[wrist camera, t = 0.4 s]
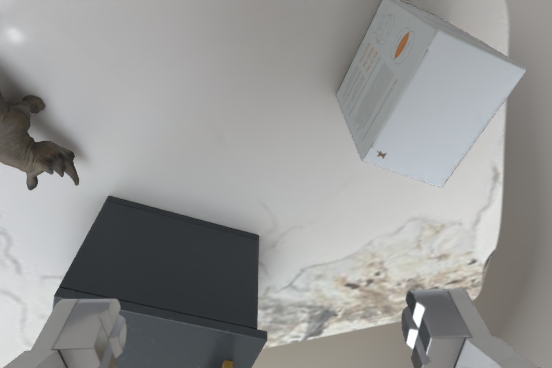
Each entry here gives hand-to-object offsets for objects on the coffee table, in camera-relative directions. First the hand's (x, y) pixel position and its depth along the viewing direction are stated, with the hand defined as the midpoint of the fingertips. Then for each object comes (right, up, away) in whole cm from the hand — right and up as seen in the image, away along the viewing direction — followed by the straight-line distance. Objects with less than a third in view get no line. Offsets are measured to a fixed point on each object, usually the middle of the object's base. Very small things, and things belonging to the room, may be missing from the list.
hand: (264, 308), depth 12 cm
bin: (-10, -4, +30) cm, 32 cm away
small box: (+9, +13, +19) cm, 25 cm away
